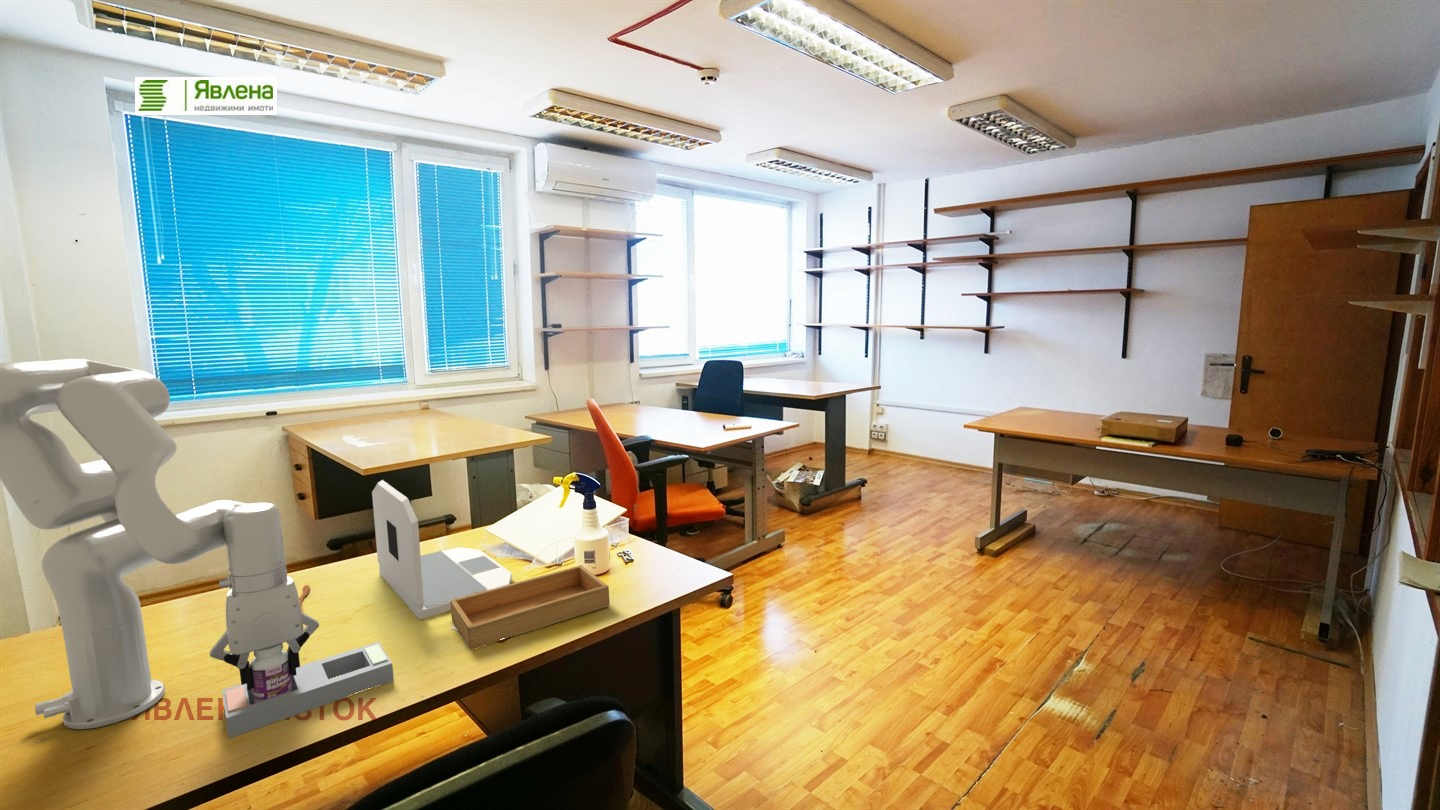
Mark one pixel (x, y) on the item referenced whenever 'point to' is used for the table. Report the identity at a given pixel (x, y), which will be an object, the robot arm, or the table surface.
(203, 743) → the table surface
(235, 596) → the robot arm
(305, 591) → the axe
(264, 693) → the pill bottle
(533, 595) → the tray
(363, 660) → the socket board
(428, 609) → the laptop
